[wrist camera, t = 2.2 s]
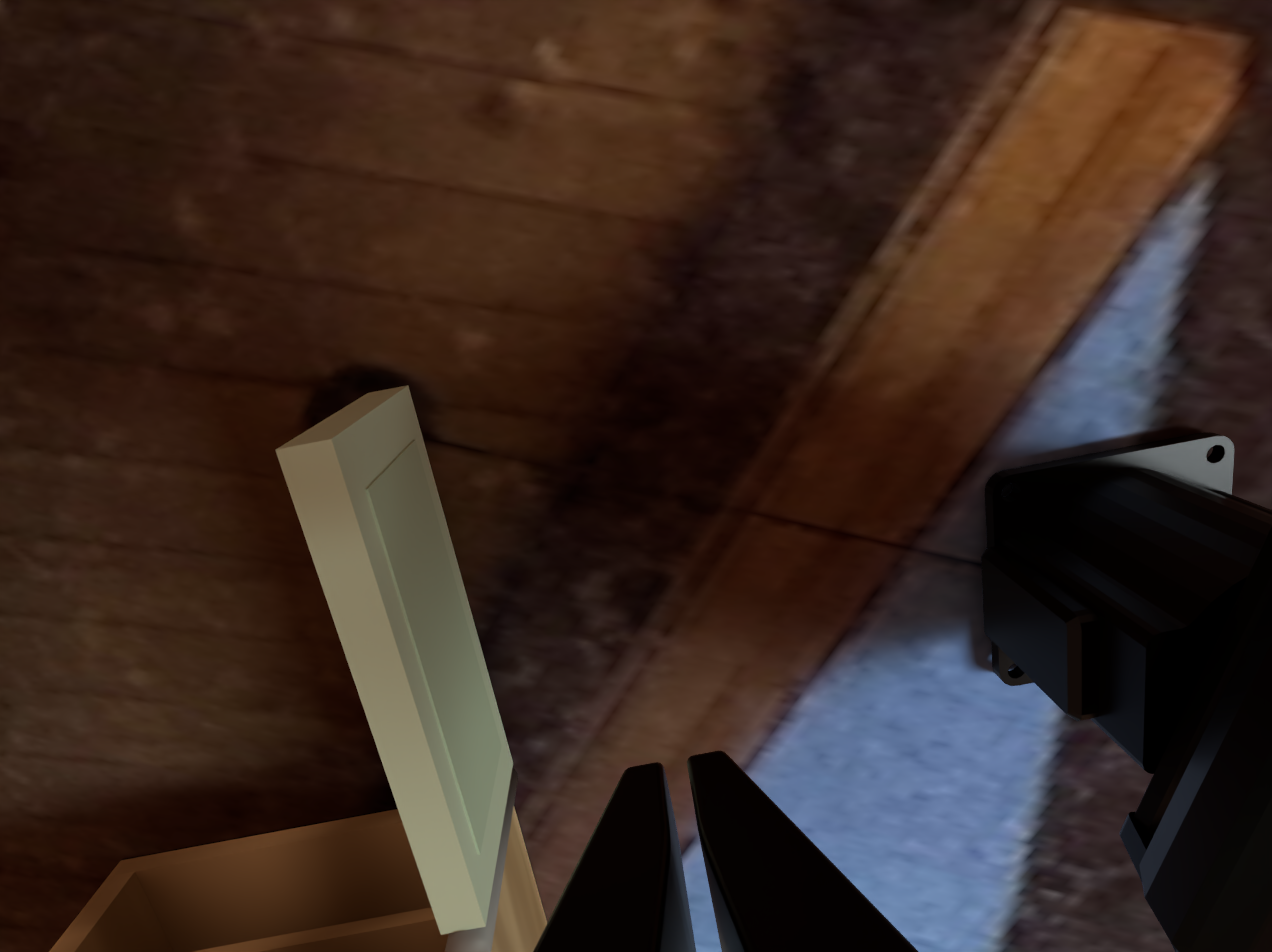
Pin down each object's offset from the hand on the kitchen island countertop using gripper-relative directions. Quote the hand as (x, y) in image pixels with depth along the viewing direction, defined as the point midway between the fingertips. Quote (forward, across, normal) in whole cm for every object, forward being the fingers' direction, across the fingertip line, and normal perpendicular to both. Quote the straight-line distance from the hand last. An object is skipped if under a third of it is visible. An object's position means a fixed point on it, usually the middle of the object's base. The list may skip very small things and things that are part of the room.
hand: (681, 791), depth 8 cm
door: (+11, +5, +3) cm, 13 cm away
